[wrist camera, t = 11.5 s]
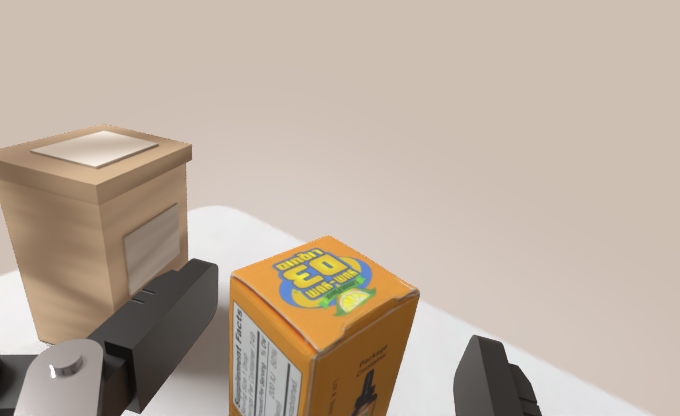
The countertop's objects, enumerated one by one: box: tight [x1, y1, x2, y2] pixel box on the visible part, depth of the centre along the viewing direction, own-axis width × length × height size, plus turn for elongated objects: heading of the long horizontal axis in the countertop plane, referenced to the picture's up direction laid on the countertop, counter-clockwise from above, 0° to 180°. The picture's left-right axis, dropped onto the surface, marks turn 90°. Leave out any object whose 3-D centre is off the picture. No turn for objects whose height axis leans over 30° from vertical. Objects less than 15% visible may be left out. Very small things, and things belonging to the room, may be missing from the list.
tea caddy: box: [0, 124, 192, 345], centre depth 17 cm, size 5×6×9 cm
